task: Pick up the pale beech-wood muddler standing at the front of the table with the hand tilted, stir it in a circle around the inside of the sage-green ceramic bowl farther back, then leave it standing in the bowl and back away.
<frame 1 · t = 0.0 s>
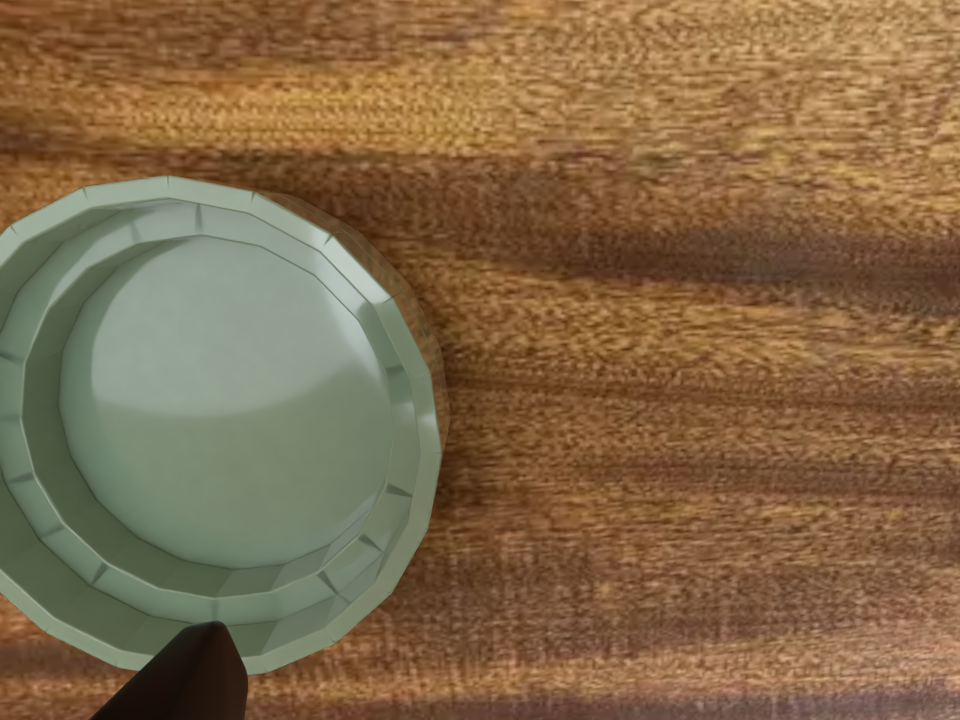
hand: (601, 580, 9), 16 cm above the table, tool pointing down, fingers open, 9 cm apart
bowl: (235, 404, 25), on the table
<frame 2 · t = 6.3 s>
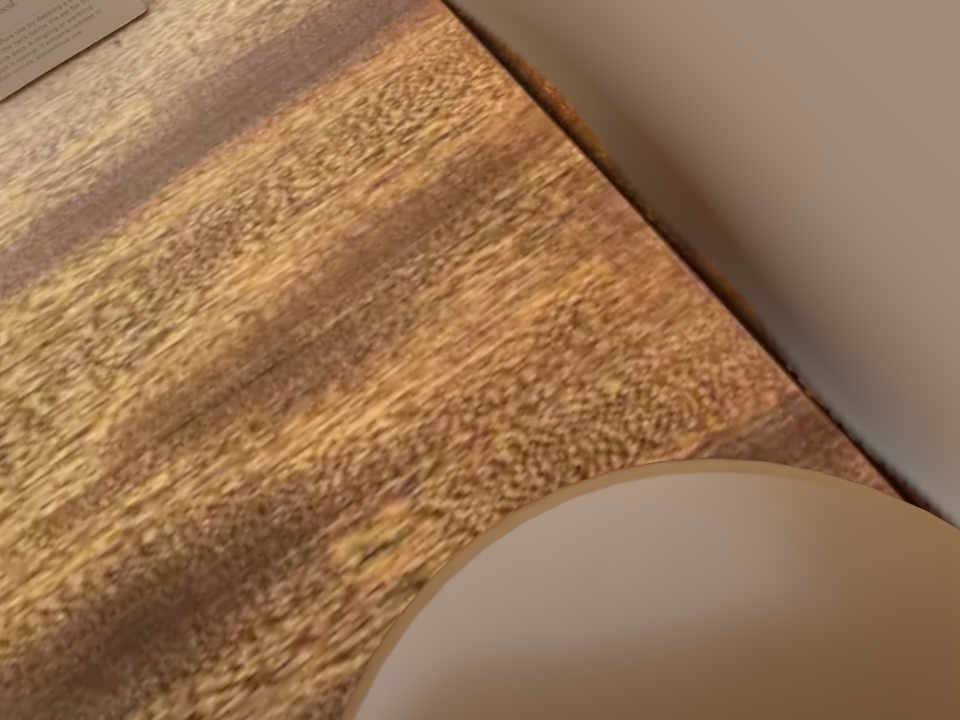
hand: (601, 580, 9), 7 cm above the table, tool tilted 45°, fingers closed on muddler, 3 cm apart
muddler: (605, 673, 15), on the table, touching gripper
when the fingers open (7 cm above the table, at t = 18.2 s): muddler stays where it is, resting on bowl.
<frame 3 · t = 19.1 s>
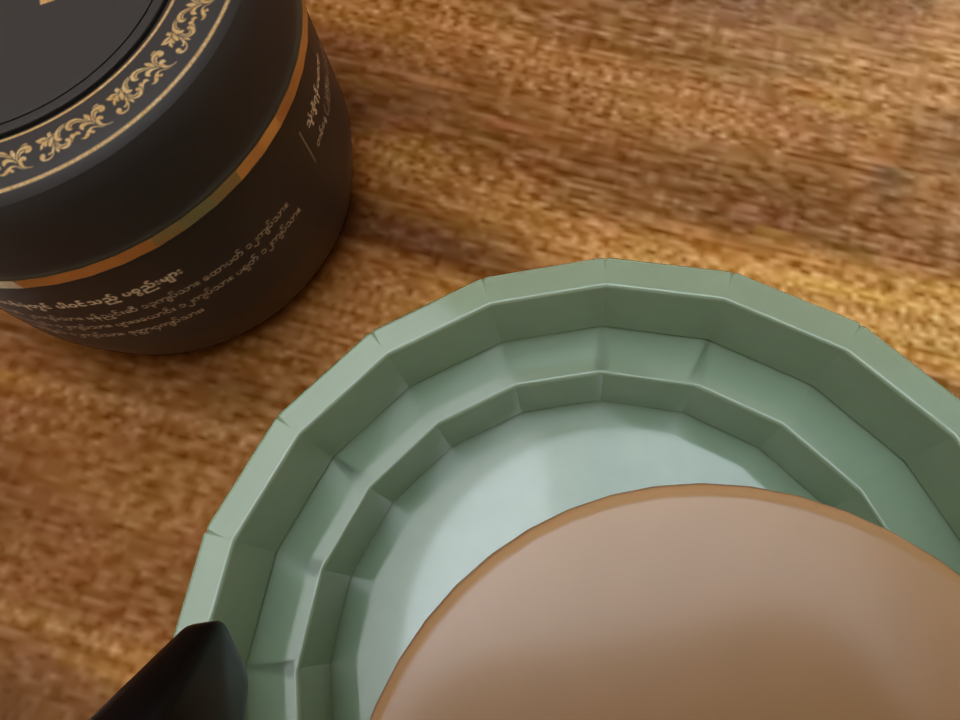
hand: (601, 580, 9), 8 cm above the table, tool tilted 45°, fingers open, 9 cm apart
bowl: (605, 672, 15), on the table
muddler: (605, 675, 15), point 1 cm above the table, touching bowl
jar: (198, 206, 21), on the table
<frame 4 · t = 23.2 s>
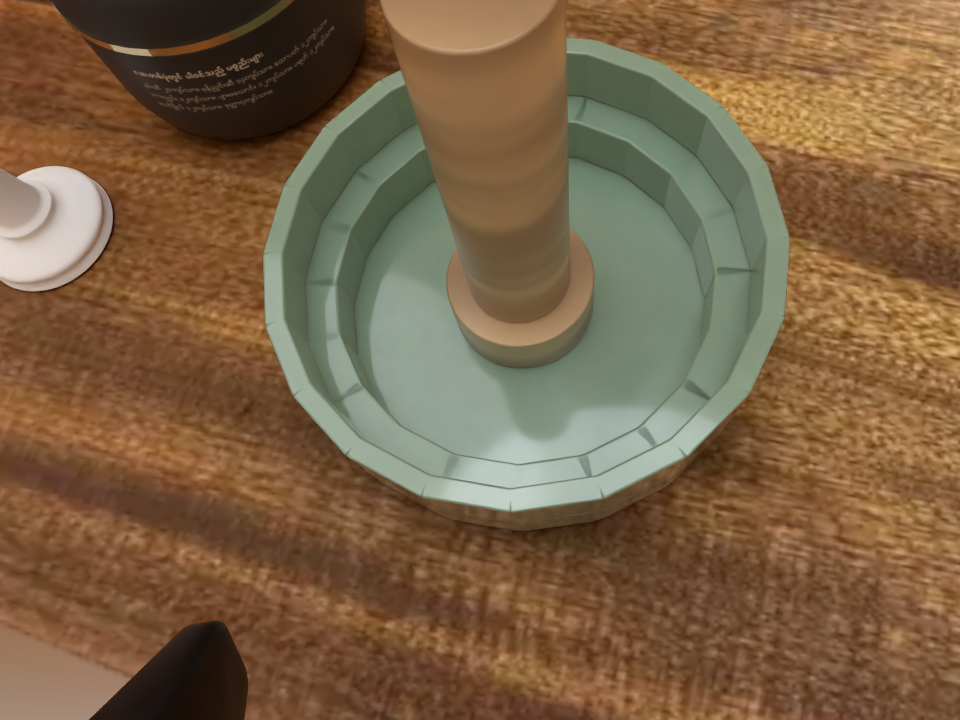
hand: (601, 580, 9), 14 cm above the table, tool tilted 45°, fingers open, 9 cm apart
bowl: (525, 310, 25), on the table
muddler: (523, 303, 24), point 1 cm above the table, touching bowl
jar: (258, 52, 30), on the table
chess piece: (54, 234, 28), on the table
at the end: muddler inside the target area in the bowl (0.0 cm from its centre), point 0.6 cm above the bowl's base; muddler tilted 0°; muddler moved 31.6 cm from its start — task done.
